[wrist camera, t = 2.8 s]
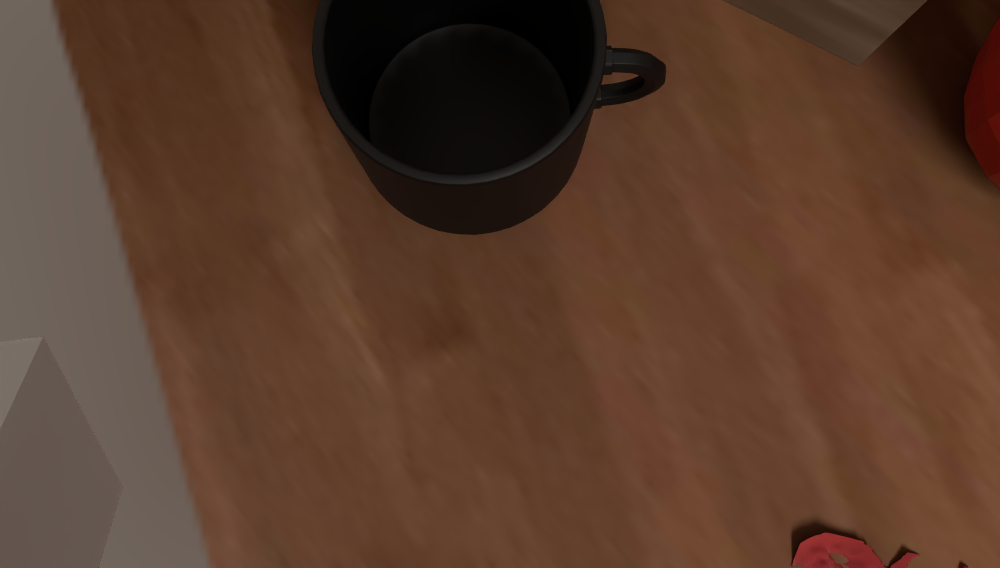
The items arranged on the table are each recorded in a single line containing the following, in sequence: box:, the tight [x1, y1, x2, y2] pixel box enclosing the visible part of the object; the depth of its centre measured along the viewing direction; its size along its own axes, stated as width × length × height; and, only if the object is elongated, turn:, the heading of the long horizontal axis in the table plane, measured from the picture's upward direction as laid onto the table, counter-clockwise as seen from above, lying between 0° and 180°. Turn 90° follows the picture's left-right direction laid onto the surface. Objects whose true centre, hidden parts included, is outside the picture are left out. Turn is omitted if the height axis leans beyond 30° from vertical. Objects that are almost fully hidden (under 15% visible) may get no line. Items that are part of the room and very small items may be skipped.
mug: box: [312, 0, 666, 235], centre depth 34 cm, size 9×12×9 cm
